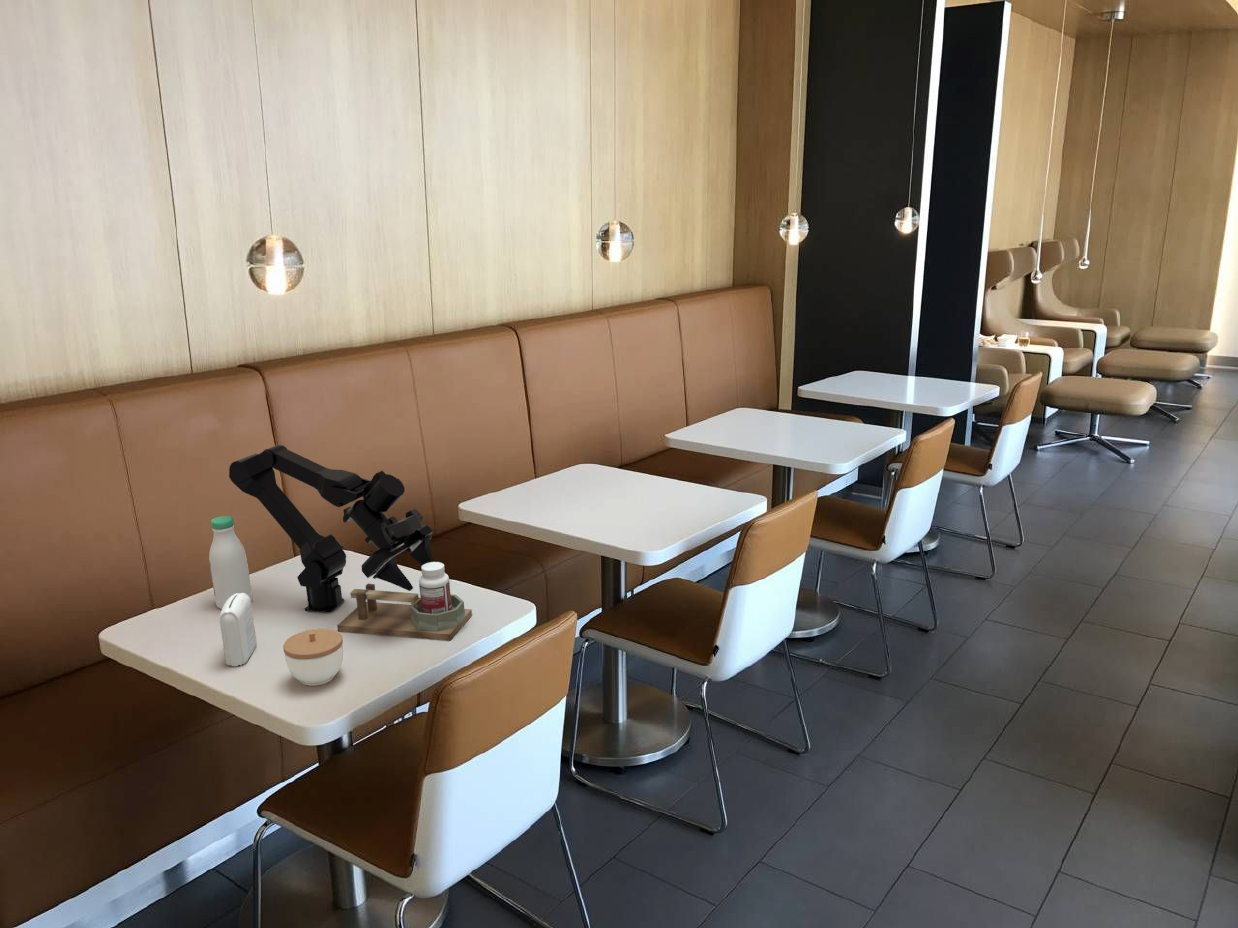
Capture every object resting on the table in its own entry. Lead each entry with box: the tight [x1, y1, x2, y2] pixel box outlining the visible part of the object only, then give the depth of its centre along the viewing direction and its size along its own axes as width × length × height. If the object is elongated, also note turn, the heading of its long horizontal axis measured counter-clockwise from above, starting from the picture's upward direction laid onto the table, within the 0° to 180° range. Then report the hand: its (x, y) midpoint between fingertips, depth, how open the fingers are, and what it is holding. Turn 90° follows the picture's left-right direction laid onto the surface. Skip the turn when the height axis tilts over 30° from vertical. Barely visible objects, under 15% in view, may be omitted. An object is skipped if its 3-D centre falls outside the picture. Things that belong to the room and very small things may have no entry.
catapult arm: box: [349, 588, 466, 631], centre depth 215 cm, size 24×10×5 cm, turn 77°
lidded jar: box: [282, 628, 344, 687], centre depth 193 cm, size 11×11×9 cm
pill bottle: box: [418, 561, 452, 614], centre depth 212 cm, size 6×6×11 cm
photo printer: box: [219, 593, 257, 667], centre depth 203 cm, size 10×4×12 cm, turn 5°
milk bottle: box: [208, 515, 253, 610], centre depth 226 cm, size 8×8×20 cm
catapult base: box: [336, 583, 473, 642], centre depth 215 cm, size 25×12×7 cm, turn 77°
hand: (424, 580), depth 213 cm, fingers open, 9 cm apart
